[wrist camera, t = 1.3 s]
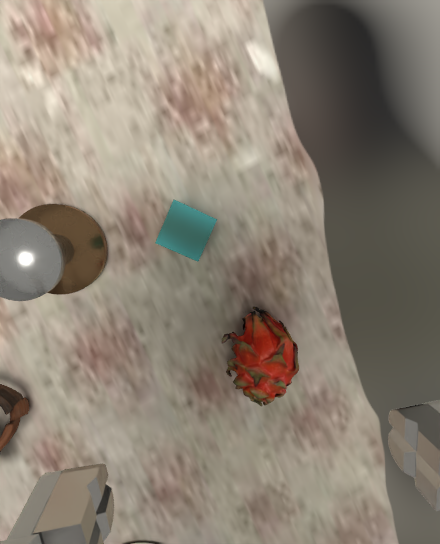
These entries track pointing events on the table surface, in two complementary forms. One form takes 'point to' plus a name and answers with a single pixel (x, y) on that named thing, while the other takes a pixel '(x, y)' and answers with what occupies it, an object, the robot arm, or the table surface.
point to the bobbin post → (49, 252)
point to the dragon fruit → (263, 358)
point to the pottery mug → (11, 411)
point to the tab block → (186, 230)
